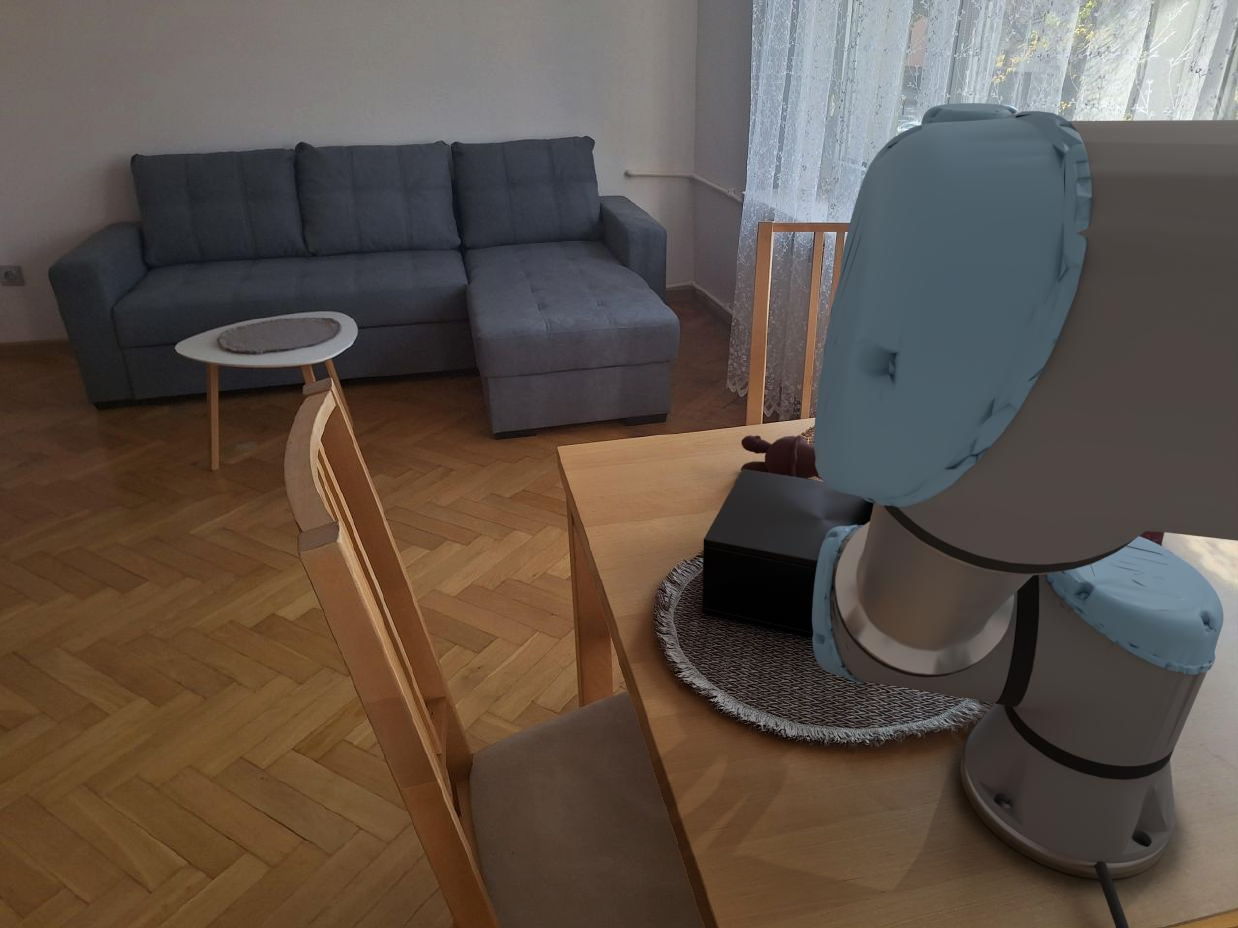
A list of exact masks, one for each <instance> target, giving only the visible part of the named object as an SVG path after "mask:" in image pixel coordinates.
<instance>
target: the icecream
mask: <svg viewBox="0 0 1238 928" xmlns="http://www.w3.org/2000/svg"><path fill="white" fill-rule="evenodd" d="M740 443H741V444H740V445H741V446H742V448H743V449H744V450H745V451H747V452H750V453H754V454H757V455H758V454H761V455H763V454H764V461H758V460H757V461H756V460H752V461H748V462H746V463H744V464H743V465H742V466H741V468H740V472H741V471H742V469H747V470H754V471H760V472H766V473H773V474H779V475H785V476H792V477H798V478H804V479H809V478H812V477H816V476H819V474H818V472H817V469H816V466H815V461H816V457H815V450H814V445H813V444H810V443H807V442H805V441H804V438H803V436H801V435H800V434H797V435H796V436H795V435H787V436H782V437H780V438H777V439H776V440H775V441H773V442H772V443H770V442H769V441H767V440H765V439H762V437H761V436H760V435H751V434H750V435H746V436H744V437H743V438H742V439H741V442H740Z"/></svg>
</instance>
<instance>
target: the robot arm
mask: <svg viewBox="0 0 1238 928" xmlns="http://www.w3.org/2000/svg"><path fill="white" fill-rule="evenodd" d="M849 221H850V222H849V225H848V229H847V234H846V237H845V241H844V245H843V250H842V256H841V266H840V274H839V279H838V282H837V285H836V288H835V292H834V296H833V301H832V304H831V308H830V315H829V322H828V326H827V331H826V336H825V342H824V349H823V359H822V364H821V370H820V374H819V375H820V376H819V383H818V391H817V401H816V410H815V417H814V427H813V428H814V429H813V446H814V450H815V457H816V461H815V466H816V469H817V472H818V474H819V475H818V476H819V478H820V479H821V481H823V482H825V483H826V484H827V485H828V486H829V487H831V488H833V489H834V490H836V491H838V492H842V493H846V494H851V495H856V496H860V497H862V498H863V499H865V500H866V501H869V502H872V503H874V506H873V510H872V515H871V519H870V521H869V522H868V523H867V524H865V525H864V526H860V525H859V526H858V525H853V526H837V527H834V528H832V529H831V530H830V531H828V533H827V534H826V536H825V540H824V541H823V543H822V546H821V549H820V553H819V558H818V563H817V569H816V575H815V583H814V593H813V607H812V627H813V638H811V639H812V650H813V654H814V658H815V660H816V663H817V665H818V666H819V667H820V668H821V670H824V671H825V672H826V673H829V674H831V675H835V676H840V677H844V678H846V679H847V680H848V681H851V682H854V683H864V682H867V683H872V684H873V683H874V684H879V685H883V686H884V685H885V686H890V687H896V688H902V689H909V690H915V691H920V692H926V693H933V694H937V695H944V696H950V697H955V698H962V699H968V700H973V701H979V702H986V703H992V704H993V706H992V707H991V708H990V709H989V710H988V711H987V712H986V713H985V715H984V716H983V717H982V718H981V719H980V720H979V721H978V723H977V724H975V726H974V728H973V729H972V730H971V731H970V733H969V734H968V737H967V738H966V741H965V743H964V748H963V753H962V756H961V761H960V777H961V778H960V779H961V784H962V786H963V790H964V793H965V795H966V797H967V799H968V801H969V803H970V805H971V806H972V808H973V809H974V811H975V812H976V814H977V815H978V817H979V818H980V819H981V820H982V822H983V823H984V824H985V825H986V826H987V827H988V828H989V829H990V830H991V831H992V833H994V834H995V835H996V836H997V837H999V838H1000V839H1001V840H1002V841H1003V842H1004V843H1006V845H1009V847H1011V848H1012V849H1014V850H1016V851H1017V852H1019V853H1021V854H1022V855H1024V856H1025V857H1027V858H1029V859H1030V860H1032V861H1034V862H1036V863H1039V864H1041V865H1043V866H1046V867H1047V868H1050V869H1053V870H1055V871H1058V872H1062V873H1065V874H1069V875H1072V876H1075V877H1076V876H1077V877H1081V878H1088V879H1095V880H1096V879H1097V880H1099V883H1100V885H1101V888H1102V892H1103V894H1104V897H1105V899H1106V904H1107V906H1108V909H1109V913H1110V914H1111V918H1112V920H1113V924H1114V926H1115V928H1130V926H1129V923H1128V921H1127V918H1126V915H1125V912H1124V909H1123V907H1122V904H1121V901H1120V898H1119V895H1118V893H1117V890H1116V887H1115V885H1114V882H1113V880H1114V879H1123V878H1129V877H1132V876H1136V875H1138V874H1141V873H1143V872H1145V871H1147V870H1148V869H1150V868H1152V867H1153V866H1154V865H1155V864H1156V863H1157V862H1158V861H1159V860H1160V858H1161V857H1162V856H1163V855H1164V853H1165V852H1166V849H1167V847H1168V845H1169V842H1170V840H1171V837H1172V835H1173V832H1174V830H1175V824H1176V810H1175V809H1176V807H1175V798H1174V788H1173V787H1174V786H1173V777H1172V768H1171V758H1172V755H1173V753H1174V750H1175V748H1176V746H1177V743H1178V741H1179V739H1180V736H1181V734H1182V732H1183V730H1184V727H1185V725H1186V722H1187V720H1188V718H1189V715H1190V714H1191V710H1192V708H1193V705H1194V704H1195V701H1196V699H1197V696H1198V694H1199V691H1200V690H1201V687H1202V685H1203V682H1204V680H1205V677H1206V675H1207V672H1208V671H1210V670H1211V669H1212V668H1213V666H1214V664H1215V661H1216V649H1217V644H1218V642H1219V637H1220V636H1221V635H1220V634H1221V631H1222V629H1223V624H1224V609H1223V604H1222V602H1221V599H1220V597H1219V595H1218V593H1217V592H1216V590H1215V588H1214V587H1213V586H1212V584H1211V583H1210V582H1209V580H1208V579H1207V578H1206V577H1205V576H1204V575H1203V574H1202V573H1201V572H1200V571H1199V570H1198V569H1197V568H1195V567H1194V566H1193V565H1191V563H1189V562H1187V560H1185V559H1184V558H1182V557H1180V556H1178V555H1176V554H1175V553H1173V552H1172V551H1170V550H1169V549H1167V548H1166V547H1164V546H1163V545H1162V546H1160V545H1158V544H1156V543H1154V542H1152V541H1149V540H1147V539H1145V538H1142V537H1140V535H1142V534H1143V533H1145V532H1146V531H1155V532H1165V533H1167V534H1176V535H1184V536H1193V537H1203V538H1209V539H1218V540H1226V541H1234V542H1235V541H1237V542H1238V119H1211V120H1209V119H1188V120H1187V119H1185V120H1183V119H1177V120H1175V119H1174V120H1173V119H1172V120H1171V119H1170V120H1169V119H1168V120H1162V119H1161V120H1157V119H1156V120H1155V119H1154V120H1152V119H1151V120H1068V119H1066V118H1064V117H1063V116H1061V115H1059V114H1056V113H1055V112H1049V111H1039V110H1032V111H1031V110H1025V111H1019V110H1018V109H1017V108H1016V107H1014V106H1012V105H1008V104H1000V103H988V102H987V103H986V102H985V103H984V102H963V103H962V102H959V103H957V102H956V103H946V104H939V105H935V106H933V107H930V108H929V109H927V110H926V111H925V112H924V114H923V116H922V117H921V122H920V125H916V126H912V127H910V128H908V129H906V130H904V131H902V132H900V133H898V134H897V135H895V136H894V137H892V138H891V139H890V140H889V141H888V142H886V143H885V145H883V147H881V149H880V150H879V151H878V152H877V153H876V154H875V156H874V157H873V159H872V161H871V162H870V164H869V166H868V167H867V169H866V172H865V175H864V177H863V179H862V181H861V185H860V188H859V190H858V194H857V197H856V200H855V203H854V207H853V211H852V213H851V218H850V220H849Z"/></svg>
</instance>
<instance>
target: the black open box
mask: <svg viewBox="0 0 1238 928" xmlns="http://www.w3.org/2000/svg"><path fill="white" fill-rule="evenodd" d="M702 548H703V549H702V556H703V557H702V594H701V595H702V596H701V607H702V608H701V613H702V614H703V615H708V616H711V617H717V618H721V619H725V620H729V621H735V622H738V623H743V624H747V625H750V626H756V627H760V628H765V629H769V630H774V631H777V632H782V633H787V634H791V635H796V636H801V637H805V638H809V639H812V638H813V627H812V607H813V593H814V583H815V575H816V569H817V568H816V567H811V566H806V565H801V564H796V563H791V562H785V561H780V560H775V559H770V558H765V557H760V556H755V555H749V554H744V553H739V552H734V551H729V550H724V549H719V548H713V547H708V546H704V545H703V547H702Z"/></svg>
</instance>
